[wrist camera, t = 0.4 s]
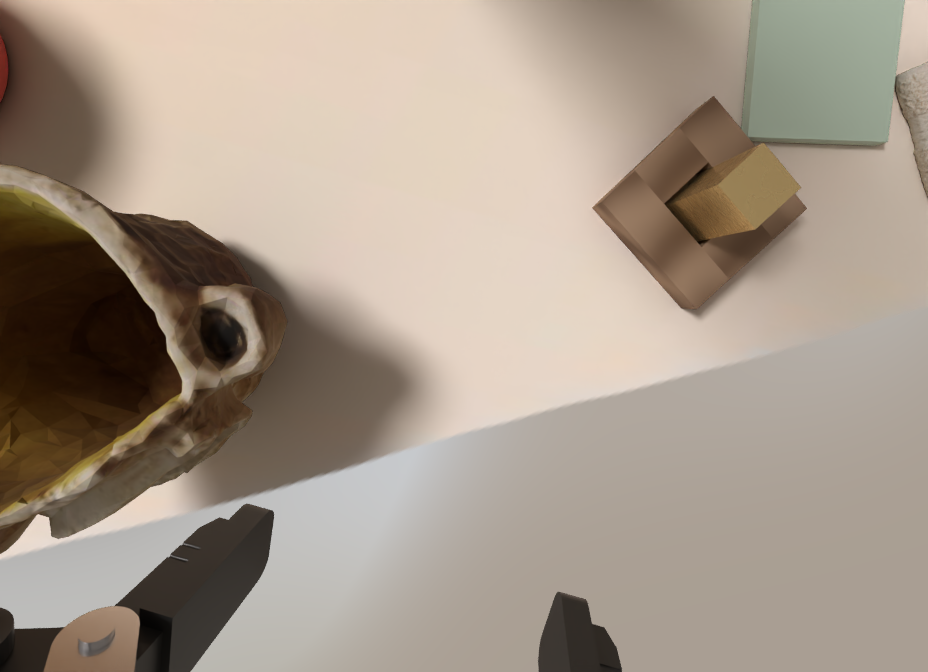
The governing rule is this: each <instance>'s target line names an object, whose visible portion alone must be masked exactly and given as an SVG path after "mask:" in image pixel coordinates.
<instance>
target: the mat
mask: <svg viewBox="0 0 928 672" xmlns="http://www.w3.org/2000/svg"><path fill="white" fill-rule="evenodd" d="M904 2H905V0H752V10H751V22H750V33H749V45H748V56H747V68H746V79H745V91H744V102H743V114H742V125H741V129H742V131H743V132H744V133H745V134H746V135H747V137H748V138H749V139H750V140H751V141H756V142H784V143H812V144H840V145H869V146H877V145H880V144H883V143H886V142H888V136H889V127H890V119H891V111H892V102H893V94H894V85H895V77H896V69H897V60H898V52H899V44H900V35H901V27H902V18H903V10H904Z"/></svg>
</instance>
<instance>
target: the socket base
mask: <svg viewBox="0 0 928 672" xmlns="http://www.w3.org/2000/svg"><path fill="white" fill-rule="evenodd" d="M753 147H755V145H754V144H753V143H752V142H751V140H750V139H749V138H748V137H747V135H746V134H745V133H744V132H743V131H742V129H741V128H740V127H739V126H738V125H737V123H736V122H735V121H734V120H733V119H732V117H731V116H730V115H729V114H728V113H727V111H726V110H725V109H724V108H723V107H722V105H721V104H720V103H719V102H718V101H717V99H716V98H715V97H714V96H713V97H712V98H710V99H709V100H708V101H707V102H705V103H704V104H703V105H701V106H700V107H699V108H697V109H696V110H695V111H694V112H693V113H692V114H691V115H690V116H689V117H688V118H687V119H685V120H684V121H683V122H682V123H681V124H680V125H679V126H678V127H677V128H676V129H675V130H674V131H673V132H672V133H671V134H670V135H669V136H668V137H666V138H665V139H664V140H663V141H662V142H661V143H660V144H659V145H658V146H657V147H656V148H655V149H654V150H653V151H652V152H651V153H650V154H648V155H647V156H646V157H645V158H644V159H643V160H642V161H641V162H640V163H639V164H638V165H637V166H636V167H635V168H634V169H633V170H632V171H630V172H629V173H628V174H627V175H626V176H625V177H624V178H623V179H622V180H621V181H620V182H619V183H618V184H617V185H616V186H615V187H614V188H613V189H611V190H610V191H609V192H608V193H607V194H606V195H605V196H604V197H603V198H602V199H601V200H600V201H599V202H598V203H597V204H596V205H595V206H593V207H592V208H593V209H594V210H595V211H596V212H597V214H598V215H599V216H600V217H601V218H602V219H603V220H604V221H605V223H606V224H607V225H608V226H609V227H610V228H611V229H612V231H613V232H614V233H615V234H616V235H617V236H618V237H619V238H620V240H621V241H622V242H623V243H624V244H625V245H626V246H627V247H628V249H629V250H630V251H631V252H632V253H633V254H634V255H635V256H636V258H637V259H638V260H639V261H640V262H641V263H642V264H643V265H644V267H645V268H646V269H647V270H648V271H649V272H650V273H651V274H652V276H653V277H654V278H655V279H656V280H657V281H658V282H659V283H660V285H661V286H662V287H663V288H664V289H665V290H666V291H667V293H668V294H669V295H670V296H671V297H672V298H673V299H674V300H675V302H676V303H677V304H678V305H679V306H680V307H681V308H687V309H697V308H698V307H700V306H701V305H702V304H703V303H704V302H705V301H706V300H707V299H708V298H709V297H711V296H712V295H713V294H714V293H715V292H716V291H717V290H718V289H719V288H720V287H721V286H723V285H724V284H725V283H726V282H727V281H728V280H729V279H730V278H731V277H732V276H734V275H735V274H736V273H737V272H738V271H739V270H740V269H741V268H742V267H743V266H745V265H746V264H747V263H748V262H749V261H750V260H751V259H752V258H753V257H754V256H755V255H757V254H758V253H759V252H760V251H761V250H762V249H763V248H764V247H765V246H766V245H768V244H769V243H770V242H771V241H772V240H773V239H774V238H775V237H776V236H777V235H778V234H780V233H781V232H782V231H783V230H784V229H785V228H786V227H787V226H788V225H789V224H791V223H792V222H793V221H794V220H795V219H796V218H797V217H798V216H799V215H800V214H802V213H803V212H804V211H805V210H806V209H807V208H806V207H805V205H804V204H803V203H802V202H801V201H800V199H799V198H798V197H797V196H796V195H795V194H794V195H792V196H791V197H790V198H789V199H788V200H787V201H786V202H785V203H784V204H783V205H782V206H780V207H779V208H778V209H777V210H776V211H775V212H774V213H773V214H772V215H771V216H770V217H768V218H767V219H766V220H765V221H764V222H763V223H762V224H761V225H760V226H759V227H758V228H756V229H755V230H750V231H745V232H740V233H735V234H730V235H726V236H721V237H716V238H711V239H706V240H701V241H696V240H695V239H694V238H693V237H692V236H691V235H690V233H689V232H688V231H687V230H686V229H685V228H684V226H683V225H682V224H681V223H680V222H679V221H678V220H677V218H676V217H675V216H674V215H673V214H672V213H671V211H670V210H669V209H668V208H667V207H666V206H665V205H664V203H665V202H666V201H667V200H668V199H670V198H671V197H672V196H673V195H674V194H675V193H676V192H677V191H678V190H679V189H680V188H681V187H682V186H683V185H684V184H686V183H687V182H688V181H689V180H690V179H691V178H692V177H693V176H694V175H697V174H699V173H701V172H703V171H705V170H708V169H710V168H712V167H714V166H716V165H718V164H720V163H722V162H724V161H726V160H728V159H730V158H732V157H734V156H736V155H739V154H741V153H743V152H745V151H747V150H749V149H751V148H753Z"/></svg>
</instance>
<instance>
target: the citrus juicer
mask: <svg viewBox="0 0 928 672" xmlns="http://www.w3.org/2000/svg"><path fill="white" fill-rule="evenodd" d="M7 79H8V57H7V53H6V49H5V45H4V42H3V40H2V37H1V35H0V102H1V100H2V98H3V95H4V92H5V89H6V86H7Z"/></svg>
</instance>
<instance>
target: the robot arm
mask: <svg viewBox="0 0 928 672" xmlns="http://www.w3.org/2000/svg"><path fill="white" fill-rule="evenodd" d="M273 520H274V512H273V511H272V510H268V509H265V508H261V507H257V506H254V505H250V504H245V505H243V506H242V507H241V508H240V509H239V510H238V511H237V512H236V513H235V514H234V515H233V516H232V517H231V518H230V519H229V520H226V519H223V518H218V519H216V520H214V521H212V522H210V523H208V524H206V525H204V526H202V527H200V528H199V529H197V530H196V531H195V532H194V533H193V534H192V535H191V536H190V537H189V538H188V539H187V540H186V541H184V543H183V545H180V546H179V547H178V548H177V549H176V550H175V551H174V552H172V553H171V555H170V557H169V558H168V557H167V558H166V559H165V560H164V561H163V562H162V563H161V564H160V565H158V566H157V567H156V568H155V569H154V570H153V571H152V572H151V573H150V574H149V575H148V576H147V577H146V578H144V579H143V580H142V581H141V582H140V583H139V584H138V585H137V586H136V587H135V588H134V589H133V590H131V591H130V592H129V593H128V594H127V595H126V596H125V597H124V598H123V599H122V600H121V601H120V602H118V604H116V605H115V606H110V607H104V608H100V609H96V610H93V611H91V612H88V613H86V614H84V615H82V616H80V617H78V618H76V619H75V620H73V621H72V622H71V623H69V624H68V625H67V626H66V627H61V628H34V629H14V618H13V615H12V614H11V613H10V612H9V611H7V610H6V609H3V608H0V672H190V671H191V670H192V669H193V667H194V666H195V665H196V663H197V662H198V661H199V659H200V658H201V657H202V655H203V654H204V653H205V651H206V650H207V649H208V647H209V646H210V645H211V643H212V642H213V641H214V639H215V638H216V637H217V635H218V634H219V633H220V631H221V630H222V629H223V627H224V626H225V624H226V623H227V622H228V620H229V619H230V618H231V616H232V615H233V614H234V612H235V611H236V610H237V608H238V607H239V606H240V604H241V603H242V602H243V600H244V599H245V597H246V596H247V595H248V594H249V592H250V591H251V590H252V588H253V587H254V586H255V584H256V583H257V581H258V580H259V578H260V577H261V575H262V573H263V571H264V569H265V566H266V563H267V561H268V557H269V550H270V542H271V535H272V528H273ZM538 658H539V659H538V665H539V672H622V668H621V664H620V660H619V656H618V652H617V648H616V646H615V645H614V643H613V642H612V640H611V638H610V636H609V635H608V633H607V631H606V630H605V628H604V627H600V626H597V625H593V624H592V622H591V617H590V612H589V607H588V603H587V601H586V599H583V598H579V597H575V596H572V595H568V594H565V593H561V592H557V594H556V595H555V598H554V601H553V604H552V607H551V610H550V613H549V616H548V619H547V621H546V624H545V627H544V630H543V633H542V637H541V641H540V647H539V657H538Z"/></svg>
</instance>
